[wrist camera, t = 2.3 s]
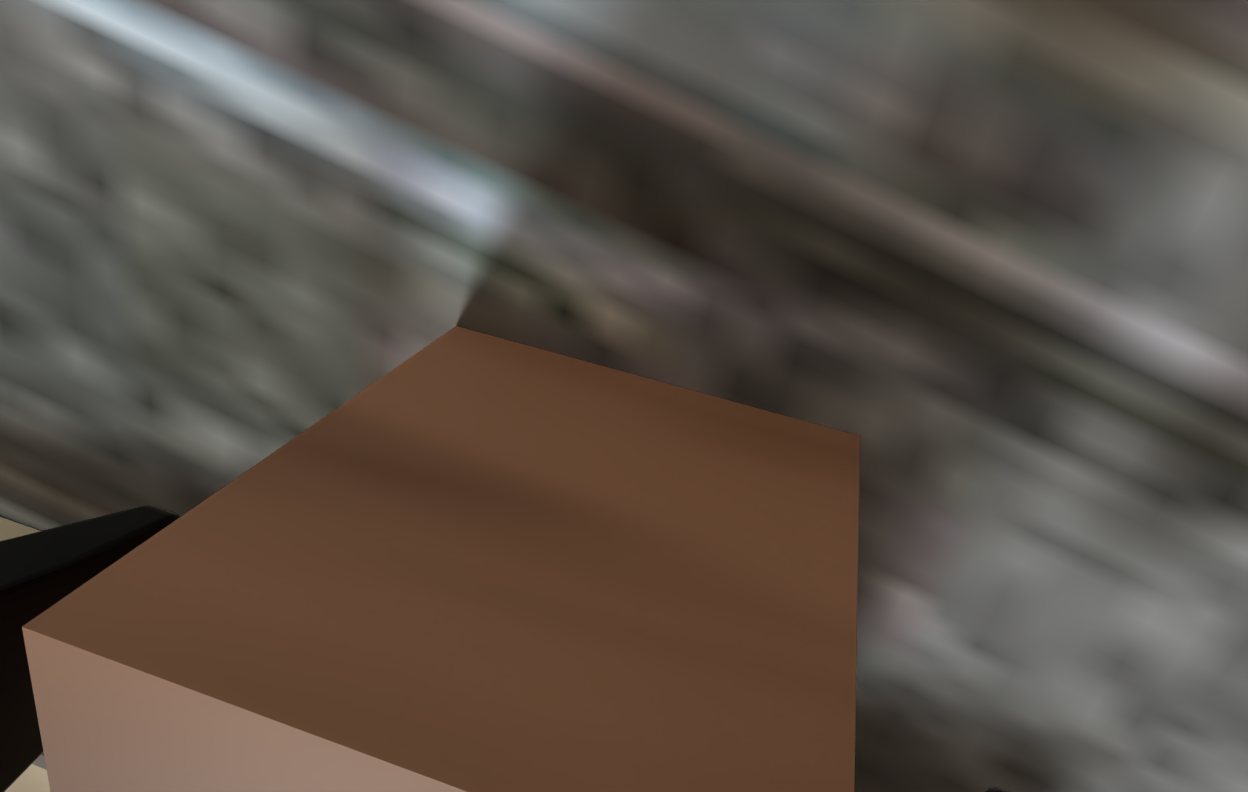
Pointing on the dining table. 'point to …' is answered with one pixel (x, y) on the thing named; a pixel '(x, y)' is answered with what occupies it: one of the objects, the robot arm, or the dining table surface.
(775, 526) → the wooden mallet
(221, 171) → the dining table surface
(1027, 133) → the dining table surface
